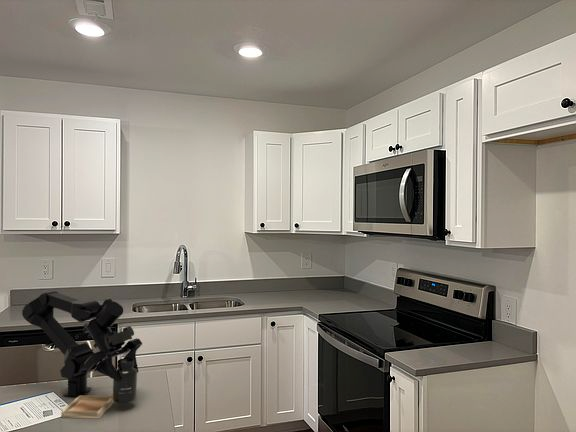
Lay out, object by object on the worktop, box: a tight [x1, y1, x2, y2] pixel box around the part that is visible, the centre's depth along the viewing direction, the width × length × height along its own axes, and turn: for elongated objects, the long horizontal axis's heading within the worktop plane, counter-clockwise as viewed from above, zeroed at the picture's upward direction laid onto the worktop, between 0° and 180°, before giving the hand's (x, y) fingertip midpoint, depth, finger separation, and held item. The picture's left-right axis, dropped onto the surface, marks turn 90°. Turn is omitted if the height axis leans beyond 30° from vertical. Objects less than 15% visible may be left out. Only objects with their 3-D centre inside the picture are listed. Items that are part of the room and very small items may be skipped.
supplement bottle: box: [112, 357, 138, 404], centre depth 138 cm, size 7×7×12 cm
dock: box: [60, 395, 115, 420], centre depth 136 cm, size 11×11×2 cm
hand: (128, 376), depth 138 cm, fingers closed on supplement bottle, 7 cm apart
